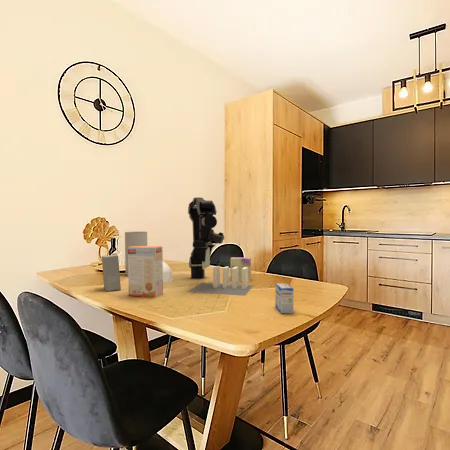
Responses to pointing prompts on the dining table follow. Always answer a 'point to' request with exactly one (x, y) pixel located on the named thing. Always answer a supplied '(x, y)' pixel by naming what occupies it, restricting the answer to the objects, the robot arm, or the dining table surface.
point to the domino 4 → (235, 278)
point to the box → (240, 266)
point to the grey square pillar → (133, 243)
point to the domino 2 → (216, 276)
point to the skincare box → (111, 272)
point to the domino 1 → (206, 259)
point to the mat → (220, 289)
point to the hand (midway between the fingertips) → (206, 260)
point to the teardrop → (166, 273)
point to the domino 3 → (225, 276)
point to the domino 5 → (244, 277)
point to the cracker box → (145, 271)
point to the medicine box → (284, 298)
